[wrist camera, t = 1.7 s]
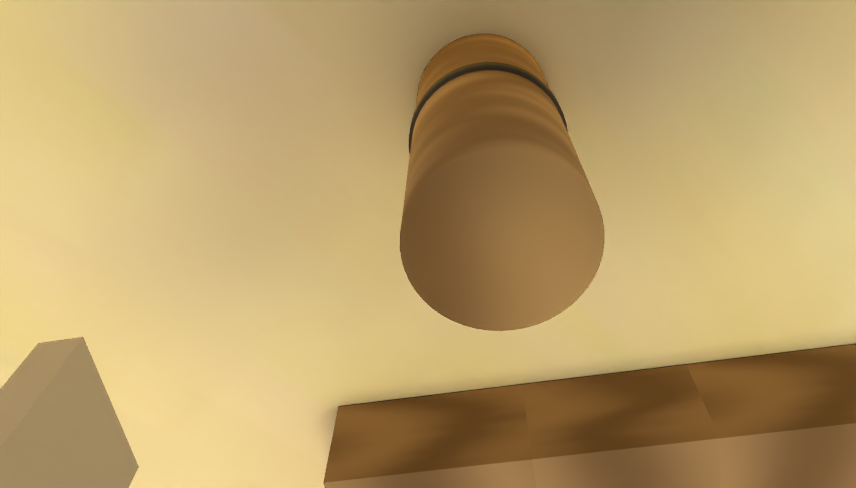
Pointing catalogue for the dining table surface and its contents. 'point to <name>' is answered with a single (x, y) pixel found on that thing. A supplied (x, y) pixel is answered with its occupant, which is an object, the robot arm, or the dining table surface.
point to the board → (618, 430)
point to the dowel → (495, 192)
